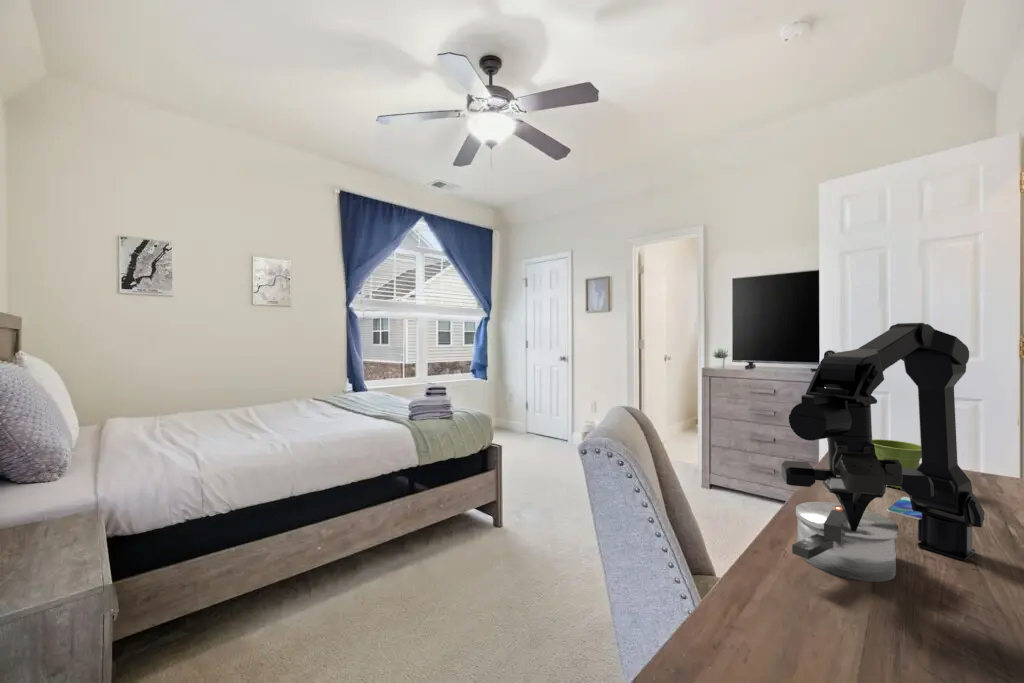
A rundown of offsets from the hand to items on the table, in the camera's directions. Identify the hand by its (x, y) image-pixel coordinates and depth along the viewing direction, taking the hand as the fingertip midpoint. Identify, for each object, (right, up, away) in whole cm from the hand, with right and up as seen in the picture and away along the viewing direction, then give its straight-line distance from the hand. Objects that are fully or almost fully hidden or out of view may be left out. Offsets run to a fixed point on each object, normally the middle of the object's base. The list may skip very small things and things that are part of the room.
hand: (853, 530), depth 71 cm
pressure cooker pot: (+2, -9, +7) cm, 11 cm away
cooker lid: (+2, -2, +6) cm, 7 cm away
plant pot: (+49, -9, +49) cm, 69 cm away
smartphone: (+39, -9, +32) cm, 51 cm away
